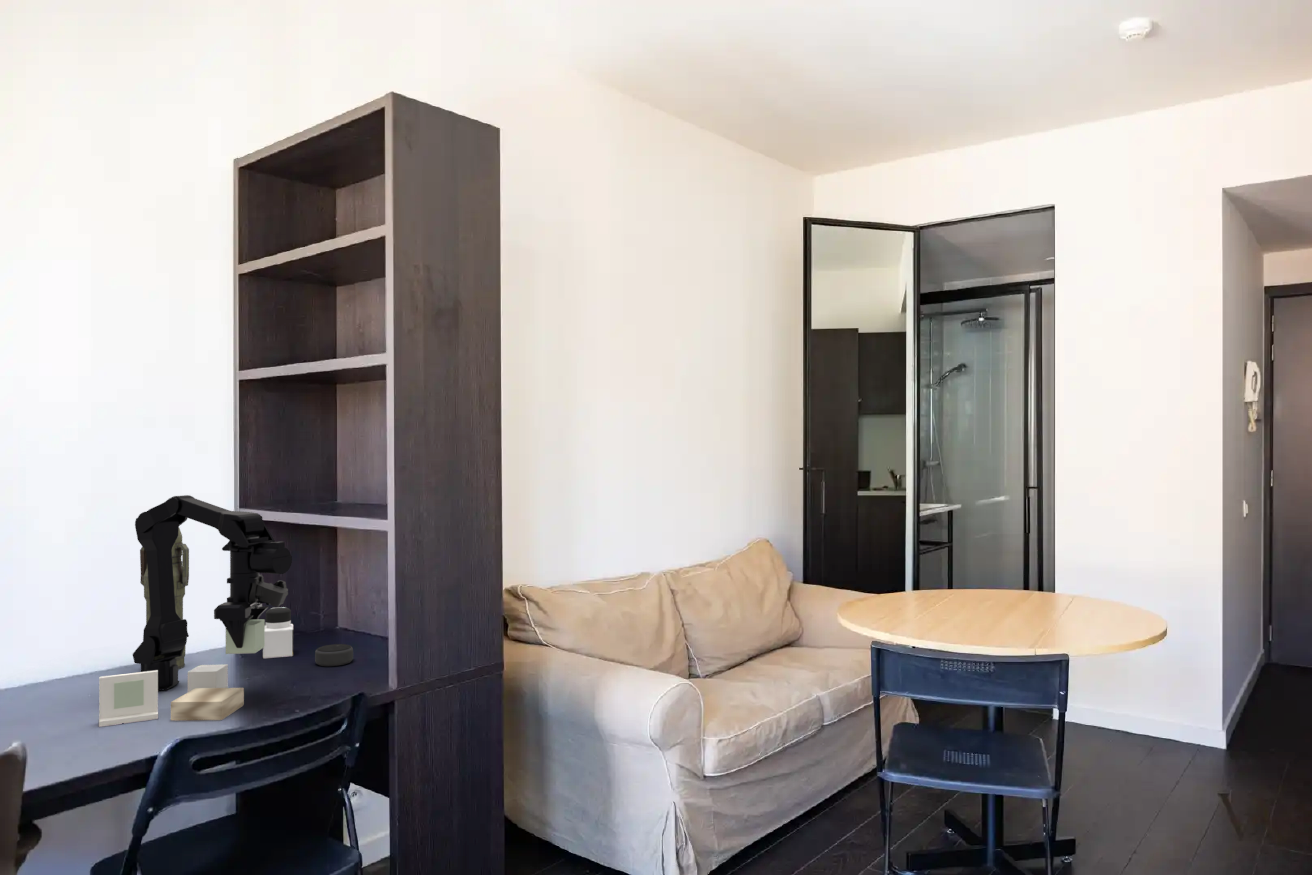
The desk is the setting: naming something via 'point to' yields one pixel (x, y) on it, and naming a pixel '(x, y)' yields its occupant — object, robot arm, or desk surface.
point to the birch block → (207, 704)
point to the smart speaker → (334, 655)
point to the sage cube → (248, 638)
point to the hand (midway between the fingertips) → (244, 644)
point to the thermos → (179, 581)
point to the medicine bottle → (278, 633)
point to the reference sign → (128, 698)
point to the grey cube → (208, 677)
